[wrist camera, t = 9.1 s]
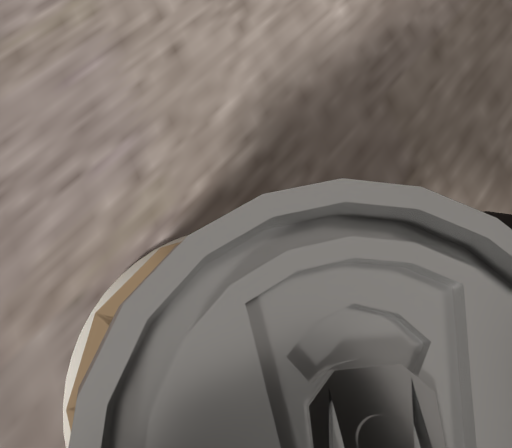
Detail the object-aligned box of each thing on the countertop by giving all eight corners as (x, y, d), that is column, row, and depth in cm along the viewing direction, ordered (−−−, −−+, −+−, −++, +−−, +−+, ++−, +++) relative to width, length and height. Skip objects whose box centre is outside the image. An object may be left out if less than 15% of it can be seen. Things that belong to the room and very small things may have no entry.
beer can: (338, 480, 15) (825, 849, 3) (161, 504, 14) (-3, 1089, 3) (315, 306, 16) (592, 146, 5) (155, 319, 15) (38, 166, 4)
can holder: (463, 373, 17) (528, 372, 13) (258, 685, 13) (278, 786, 10) (229, 172, 18) (236, 126, 15) (-12, 410, 14) (-72, 420, 11)
